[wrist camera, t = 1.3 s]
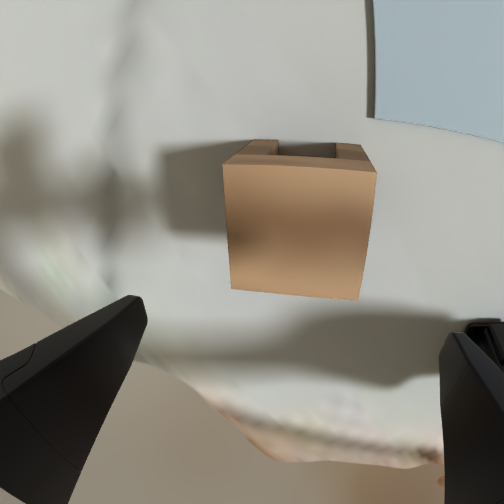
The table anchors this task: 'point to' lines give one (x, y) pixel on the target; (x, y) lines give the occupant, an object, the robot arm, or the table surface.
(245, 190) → the light brown block
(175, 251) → the table surface
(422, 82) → the mat
